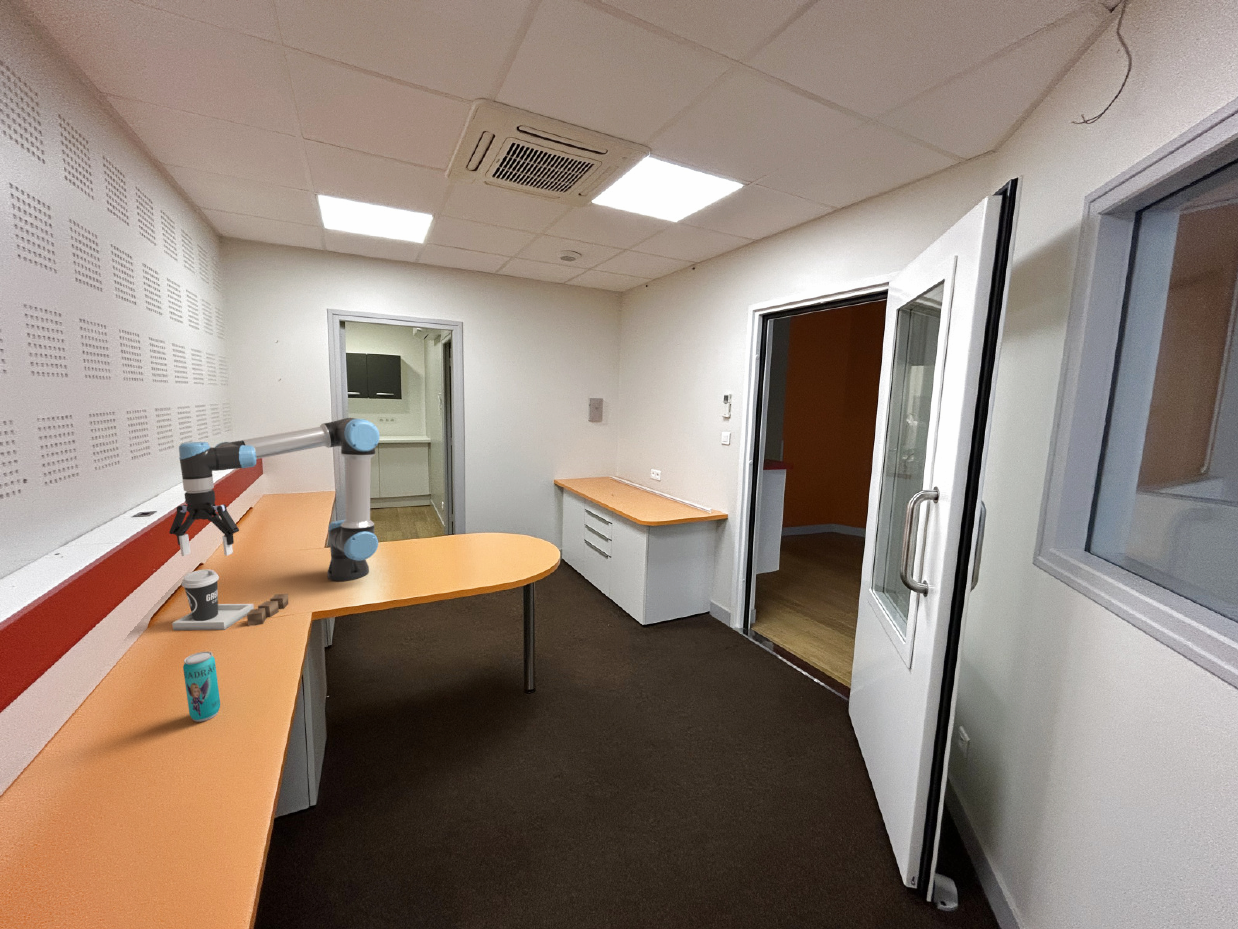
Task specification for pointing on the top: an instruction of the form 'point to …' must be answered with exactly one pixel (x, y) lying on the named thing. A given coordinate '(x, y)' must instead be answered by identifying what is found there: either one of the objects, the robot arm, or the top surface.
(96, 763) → the top surface
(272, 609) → the block
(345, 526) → the robot arm
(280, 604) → the block
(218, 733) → the top surface
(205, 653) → the beverage can
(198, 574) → the coffee cup
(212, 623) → the tray
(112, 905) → the top surface
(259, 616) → the block
